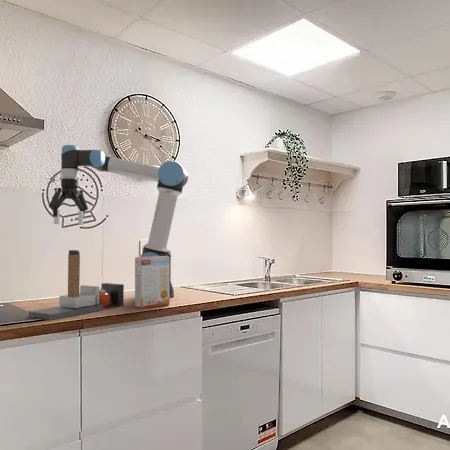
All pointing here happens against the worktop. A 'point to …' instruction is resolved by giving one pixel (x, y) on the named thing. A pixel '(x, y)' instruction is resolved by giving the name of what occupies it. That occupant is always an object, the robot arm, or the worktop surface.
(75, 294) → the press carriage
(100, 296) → the tomato
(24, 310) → the worktop surface
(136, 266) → the cracker box
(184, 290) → the worktop surface
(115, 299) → the press bench
